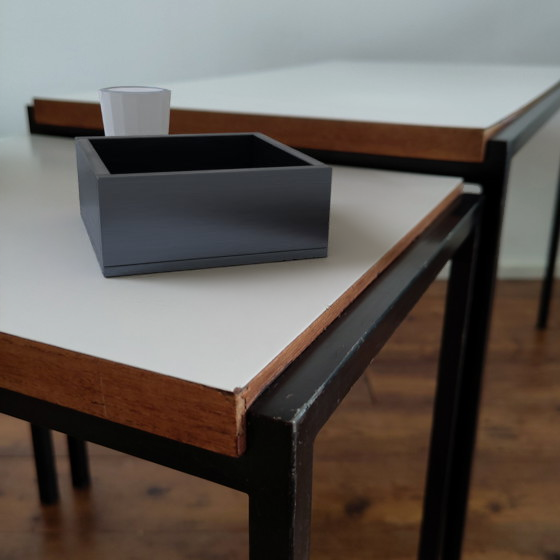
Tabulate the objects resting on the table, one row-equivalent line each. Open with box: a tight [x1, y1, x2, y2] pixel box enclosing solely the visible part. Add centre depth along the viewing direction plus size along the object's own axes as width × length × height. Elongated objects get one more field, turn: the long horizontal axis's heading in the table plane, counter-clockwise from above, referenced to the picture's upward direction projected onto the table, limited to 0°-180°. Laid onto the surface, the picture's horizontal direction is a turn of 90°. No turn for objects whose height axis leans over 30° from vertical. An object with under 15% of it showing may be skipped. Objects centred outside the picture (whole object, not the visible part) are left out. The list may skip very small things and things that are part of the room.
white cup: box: [98, 85, 172, 136], centre depth 68 cm, size 7×7×7 cm
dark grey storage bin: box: [74, 131, 333, 278], centre depth 46 cm, size 14×14×6 cm
